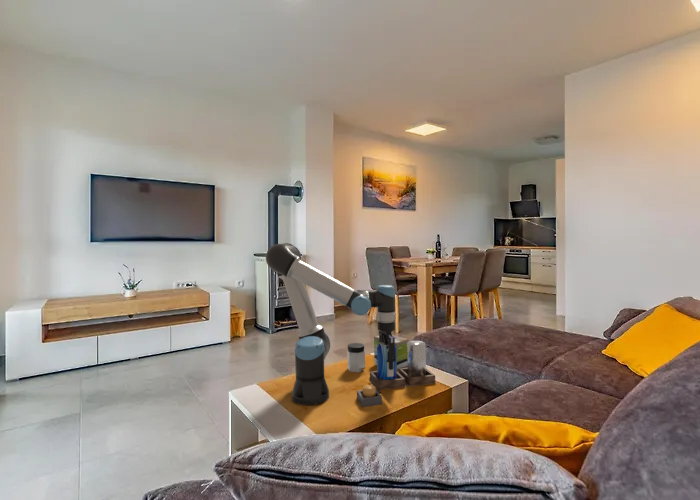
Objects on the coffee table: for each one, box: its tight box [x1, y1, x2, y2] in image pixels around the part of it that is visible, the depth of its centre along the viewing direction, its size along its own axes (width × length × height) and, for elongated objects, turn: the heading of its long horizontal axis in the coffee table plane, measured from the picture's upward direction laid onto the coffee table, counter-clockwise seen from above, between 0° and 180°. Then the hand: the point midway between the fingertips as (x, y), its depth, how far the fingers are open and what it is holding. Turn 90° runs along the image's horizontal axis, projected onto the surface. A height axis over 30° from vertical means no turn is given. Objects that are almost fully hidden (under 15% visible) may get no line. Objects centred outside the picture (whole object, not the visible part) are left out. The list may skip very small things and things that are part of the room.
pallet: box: [368, 367, 437, 395], centre depth 158 cm, size 26×14×4 cm, turn 104°
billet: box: [407, 340, 427, 377], centre depth 160 cm, size 8×8×16 cm
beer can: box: [376, 342, 398, 381], centre depth 156 cm, size 8×8×16 cm
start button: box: [362, 384, 376, 398], centre depth 142 cm, size 5×5×3 cm
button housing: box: [356, 389, 383, 408], centre depth 142 cm, size 8×8×3 cm
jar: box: [346, 342, 366, 373], centre depth 177 cm, size 9×8×12 cm
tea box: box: [373, 334, 410, 370], centre depth 180 cm, size 15×10×15 cm
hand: (386, 372), depth 157 cm, fingers open, 8 cm apart
